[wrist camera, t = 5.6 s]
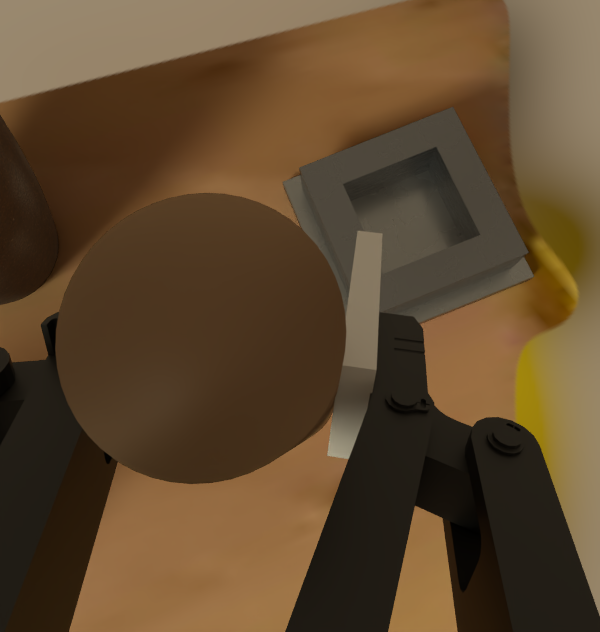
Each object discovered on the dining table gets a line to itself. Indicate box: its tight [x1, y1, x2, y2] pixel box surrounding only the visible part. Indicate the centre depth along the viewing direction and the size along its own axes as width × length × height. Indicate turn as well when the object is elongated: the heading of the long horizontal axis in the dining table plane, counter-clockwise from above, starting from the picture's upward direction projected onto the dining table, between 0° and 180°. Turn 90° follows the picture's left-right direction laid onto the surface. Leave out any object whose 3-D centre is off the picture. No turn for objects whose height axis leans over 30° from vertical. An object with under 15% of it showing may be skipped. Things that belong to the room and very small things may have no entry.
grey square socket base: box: [283, 107, 534, 324], centre depth 33 cm, size 12×12×4 cm
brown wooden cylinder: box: [55, 193, 346, 484], centre depth 14 cm, size 4×4×14 cm
